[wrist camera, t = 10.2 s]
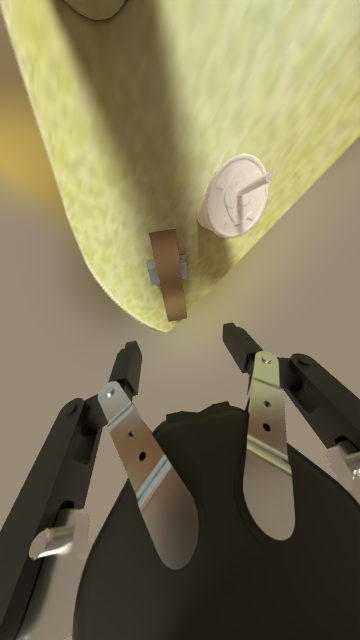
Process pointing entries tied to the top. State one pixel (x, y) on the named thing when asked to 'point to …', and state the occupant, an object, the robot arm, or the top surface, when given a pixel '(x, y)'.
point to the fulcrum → (154, 273)
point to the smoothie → (235, 197)
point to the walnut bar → (169, 272)
